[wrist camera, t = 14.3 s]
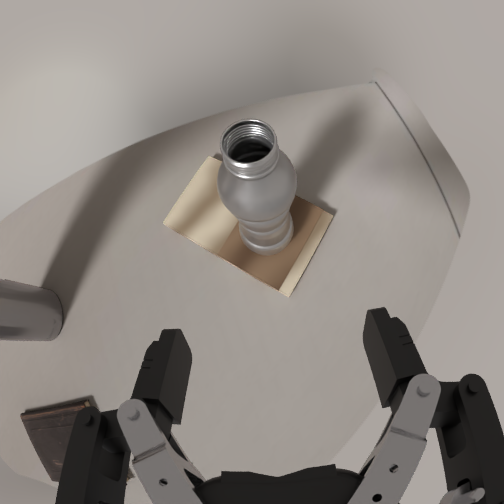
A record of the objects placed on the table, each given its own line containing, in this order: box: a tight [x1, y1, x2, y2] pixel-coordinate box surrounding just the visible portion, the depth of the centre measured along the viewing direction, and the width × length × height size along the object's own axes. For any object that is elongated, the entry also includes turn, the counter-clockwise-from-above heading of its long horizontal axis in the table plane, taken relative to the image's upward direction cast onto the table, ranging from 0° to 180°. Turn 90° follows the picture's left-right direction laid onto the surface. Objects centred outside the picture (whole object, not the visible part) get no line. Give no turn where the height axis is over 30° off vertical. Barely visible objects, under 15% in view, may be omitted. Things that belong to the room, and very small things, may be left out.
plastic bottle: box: [217, 119, 297, 256], centre depth 26 cm, size 6×7×20 cm
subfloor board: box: [163, 156, 333, 297], centre depth 37 cm, size 20×12×1 cm, turn 59°
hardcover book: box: [20, 400, 129, 485], centre depth 32 cm, size 16×23×2 cm
